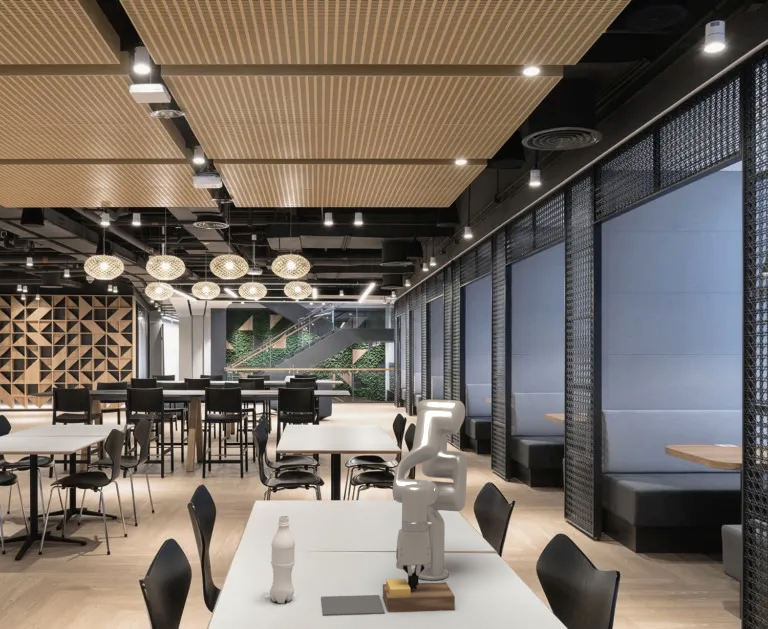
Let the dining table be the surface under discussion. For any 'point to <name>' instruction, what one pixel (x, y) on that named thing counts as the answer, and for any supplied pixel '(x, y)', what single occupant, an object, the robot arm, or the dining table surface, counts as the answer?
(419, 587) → the brown wooden block
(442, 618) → the dining table surface
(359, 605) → the mat
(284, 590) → the water bottle
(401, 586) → the yellow rectangular block
